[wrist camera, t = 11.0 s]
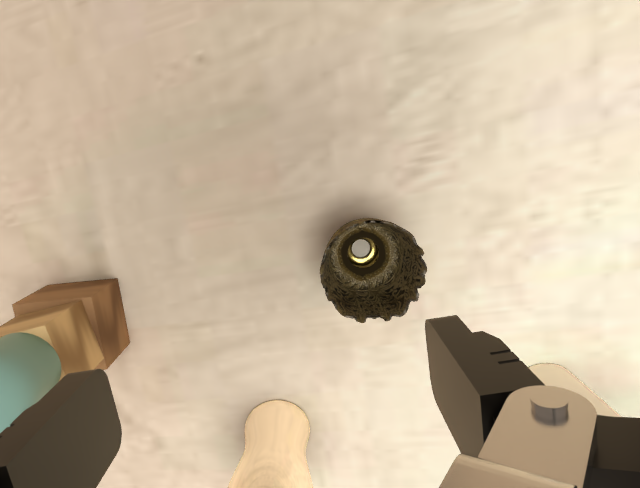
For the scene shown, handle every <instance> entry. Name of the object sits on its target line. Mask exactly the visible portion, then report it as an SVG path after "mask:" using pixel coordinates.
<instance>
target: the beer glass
mask: <svg viewBox="0 0 640 488" xmlns="http://www.w3.org/2000/svg"><path fill="white" fill-rule="evenodd" d="M244 434H245V449H244V453H243V455H242V457H241V459H240V461H239V463H238V465H237V467H236V469H235V471H234V474H233V476H232V478H231V480H230V482H229V485H228V487H227V488H313V484H312V480H311V476H310V472H309V468H308V464H307V460H306V453H305V452H306V447H307V443H308V440H309V435H310V425H309V421H308V419H307V417H306V415H305V413H304V412H303V411H302V410H301V409H300V408H299V407H298V406H296V405H295V404H293V403H290V402H287V401H283V400H272V401H268V402H265V403H262V404H260V405H259V406H257V407H256V408H255V409H253V410H252V412H251V413H250V414H249V416H248V418H247V420H246V423H245V429H244Z"/></svg>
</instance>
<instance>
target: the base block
mask: <svg viewBox="0 0 640 488" xmlns="http://www.w3.org/2000/svg"><path fill="white" fill-rule="evenodd" d="M78 300H82V303H83V305H84V308H85V310H86V313H87V315H88V318H89V321H90V323H91V326H92V328H93V331H94V334H95V336H96V339H97V341H98V344H99V346H100V349H101V352H102V354H103V357H104V359H103V360H102V361H101V362H100V363H99V364H98V365H97V367H96V368H95V369H102V370H105V369H107V368H108V367H109V366H110V365H111V364H112V363H113V362H114V360H115V359H116V358H117V357H118V356H119V355H120V354H121V353H122V351H123V350H124V349H125V348H126V347H127V346H128V345H129V343H130V340H129V334H128V329H127V324H126V319H125V314H124V309H123V304H122V299H121V293H120V288H119V283H118V278H115V279H105V280H95V281H84V282H74V283H63V284H53V285H47V286H45V287H43V288H42V289H40V290H38V291H36V292H34V293H32V294H31V295H29V296H27V297H25V298H23V299H22V300H20V301H18V302H16V303H14V304H13V305H12V306H13V310H14V314H15V317H17V316H18V315H22V314H26V313H30V312H34V311H38V310H42V309H46V308H50V307H54V306H58V305H62V304H66V303H70V302H74V301H78Z"/></svg>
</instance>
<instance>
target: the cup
mask: <svg viewBox="0 0 640 488" xmlns="http://www.w3.org/2000/svg"><path fill="white" fill-rule="evenodd" d="M359 239H364V240H366V241H367V242H368V243H369V244H370V252H369V254H368V255H367V256H365V257H363V258H359V257H356V256H355V255H354V254H353V253H352V245H353V243H354V242H355V241H356V240H359ZM421 255H422V256H423V255H424V252H423V250H422V249H421V248H420V247H419V246H418V245H417V243H416V240H415V238H414V236H413V235H412V234H411V233H410V232H408V231H407V230H405V229H403V228H401V227H399V226H398V225H396V224H394V223H391V222H388V221H383V220H379V219H373V218H363V219H358V220H354V221H351V222H349V223H347V224H345V225H344V226H342V227H341V228H340V229H339V230H338V231H337V232H336V233H335V234H334V235H333V236H332V238H331V239H330V241H329V243H328V245H327V247H326V250H325V253H324V256H323V260H322V263H321V268H320V274H321V283H322V285H323V288H325V291H326V293H325V294H326V296H327V299H328V301H332V303H333V304H334V306H335V308H336V309H337V310H338V312H339V313H340V314H341V315H342V316H344V317H348V318H355V320H356V321H357V322H360V323H364V322H366V318H373V319H376V318H379V317H380V318H383V319H384V320H385V321H389V320H391V317H392V316H397V317H401V316H403V315H404V314H405V313H406V312H407V310H408V307H409V304H410V302H411V301H414V302H415V301H418V298H419V293H418V290H417V288H421V286H423V285H424V284H425V275H424V274H426V272H427V266H426V264H425V262H424V260H423V259H422V257H421Z"/></svg>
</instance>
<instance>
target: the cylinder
mask: <svg viewBox="0 0 640 488" xmlns="http://www.w3.org/2000/svg"><path fill="white" fill-rule="evenodd" d="M60 376H61V362H60V359H59V356H58V354H57V353H56V351H55V350H54V348H53V347H52V346H51V345H50V344H49V343H48V342H46V341H45V340H44V339H42V338H40V337H38V336H36V335H33V334H29V333H21V332H18V333H11V334H7V335H5V336H3V337H1V338H0V433H1V432H2V431H3V430H4V429H6V428H7V427H10V424H11V423H12V422H13V421H14V420H15V419H16V418H17V417H18V416H19V415H20V414H21V413H22V412H23V411H24V410H26V409H27V408H29V407H31V406H32V405H34V404H35V403H37V402H38V401H39V400H40V399H41V398H42V397H44V396H45V395H46V394H47V393H48V392H49V391H50V390H51V389H52V388H53V387H54V386H55V385H56V384H57V383H58V382H59V380H60Z"/></svg>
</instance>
